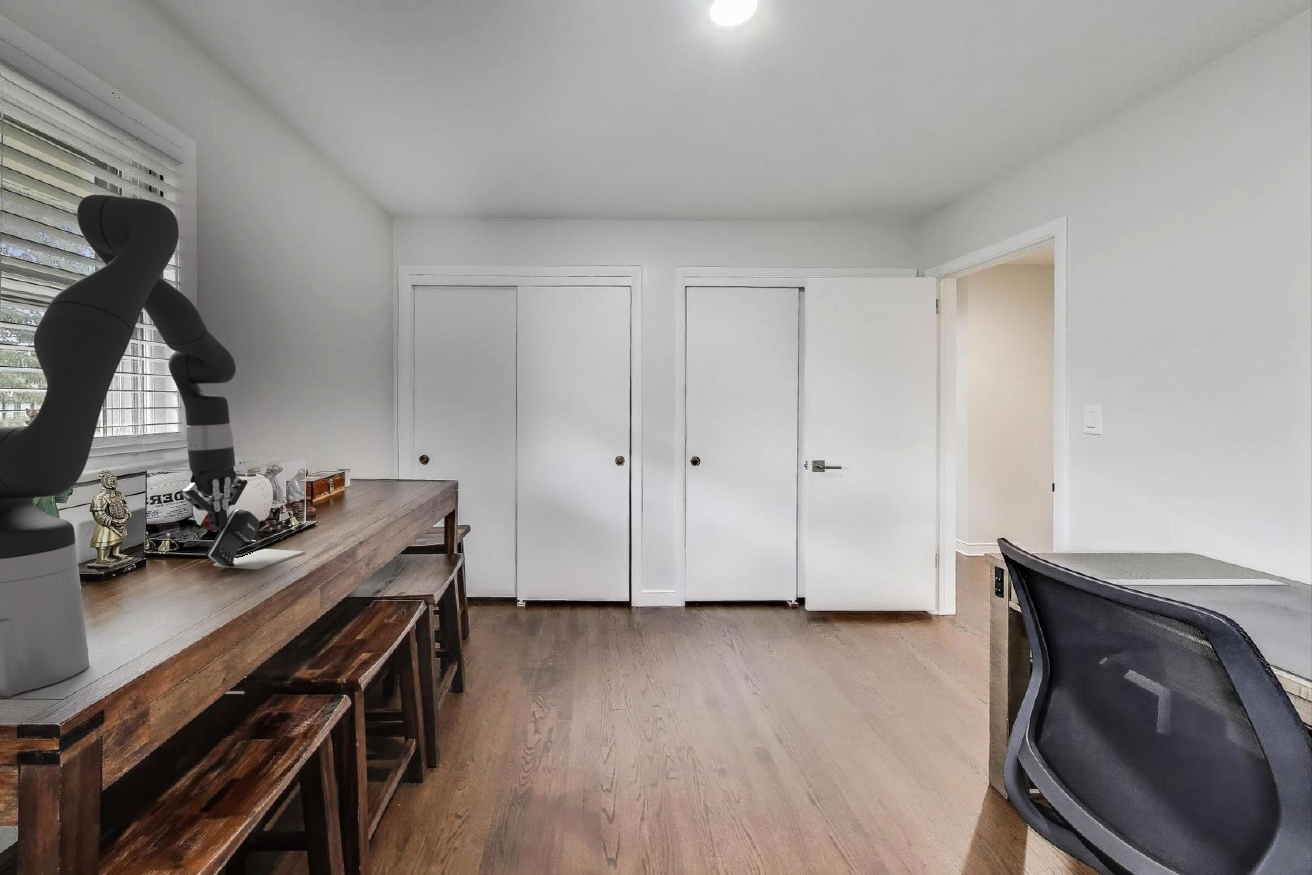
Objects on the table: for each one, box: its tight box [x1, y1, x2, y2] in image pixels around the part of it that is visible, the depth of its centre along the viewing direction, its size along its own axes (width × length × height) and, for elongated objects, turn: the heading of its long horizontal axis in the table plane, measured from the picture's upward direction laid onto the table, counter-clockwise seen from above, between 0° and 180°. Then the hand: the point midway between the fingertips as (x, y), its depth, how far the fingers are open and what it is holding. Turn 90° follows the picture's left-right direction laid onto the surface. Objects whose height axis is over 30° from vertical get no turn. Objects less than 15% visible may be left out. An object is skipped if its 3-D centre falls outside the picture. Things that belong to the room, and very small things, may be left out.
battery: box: [205, 508, 260, 568], centre depth 122 cm, size 7×4×11 cm
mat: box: [213, 548, 306, 570], centre depth 128 cm, size 12×12×1 cm
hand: (219, 528), depth 119 cm, fingers closed
